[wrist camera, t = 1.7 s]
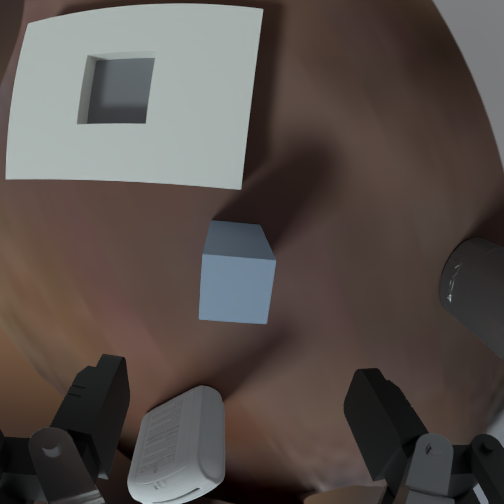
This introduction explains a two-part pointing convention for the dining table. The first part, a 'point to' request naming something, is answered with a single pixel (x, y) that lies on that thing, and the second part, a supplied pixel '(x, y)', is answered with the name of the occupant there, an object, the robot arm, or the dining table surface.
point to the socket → (136, 95)
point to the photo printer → (180, 449)
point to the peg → (236, 273)
